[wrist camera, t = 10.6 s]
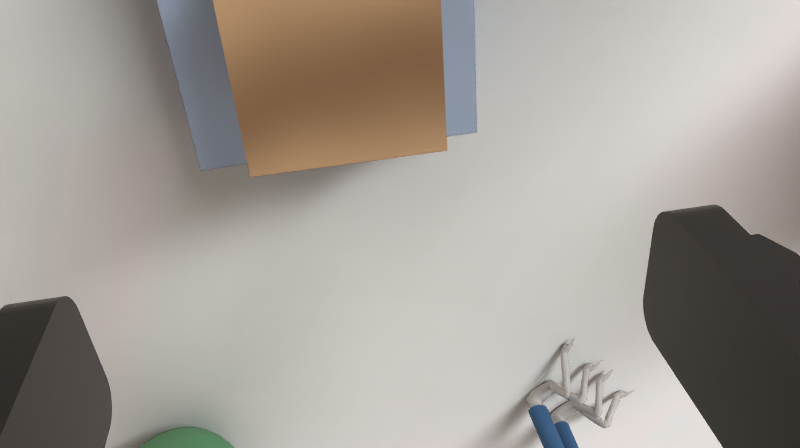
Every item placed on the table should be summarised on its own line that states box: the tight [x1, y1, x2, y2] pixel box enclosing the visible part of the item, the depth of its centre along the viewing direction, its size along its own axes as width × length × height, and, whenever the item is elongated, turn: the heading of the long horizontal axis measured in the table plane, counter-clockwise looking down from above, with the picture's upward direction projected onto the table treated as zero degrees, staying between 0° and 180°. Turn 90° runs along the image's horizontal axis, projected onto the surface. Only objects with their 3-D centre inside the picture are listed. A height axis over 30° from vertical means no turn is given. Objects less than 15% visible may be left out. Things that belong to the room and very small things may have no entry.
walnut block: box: [213, 0, 447, 177], centre depth 20 cm, size 6×6×6 cm
